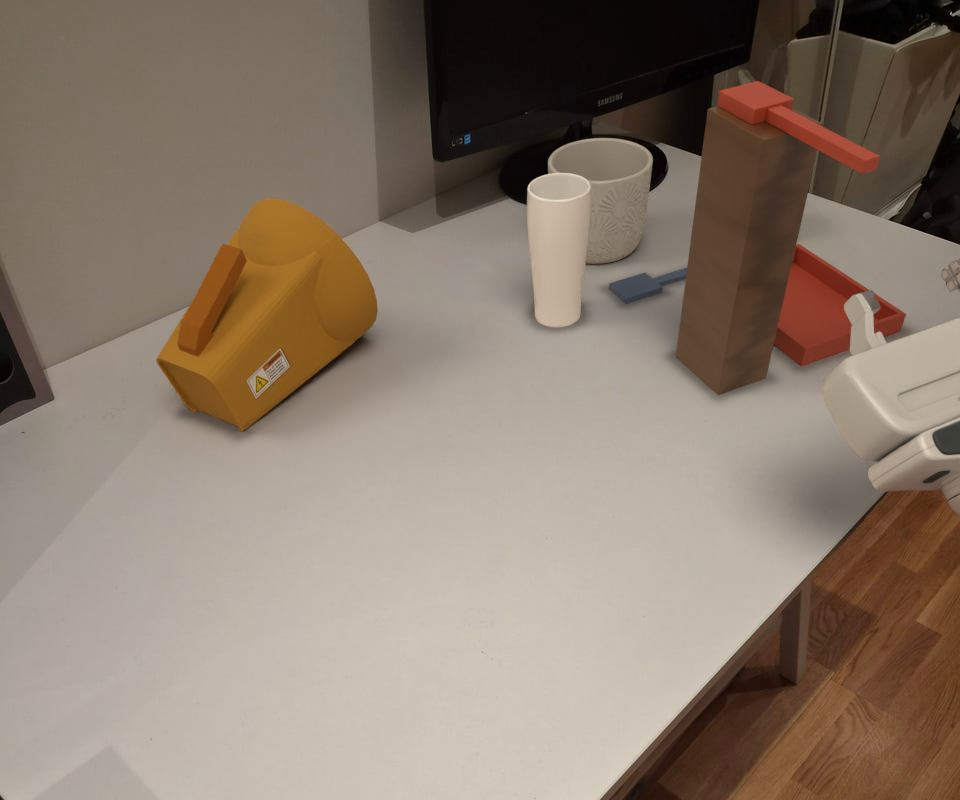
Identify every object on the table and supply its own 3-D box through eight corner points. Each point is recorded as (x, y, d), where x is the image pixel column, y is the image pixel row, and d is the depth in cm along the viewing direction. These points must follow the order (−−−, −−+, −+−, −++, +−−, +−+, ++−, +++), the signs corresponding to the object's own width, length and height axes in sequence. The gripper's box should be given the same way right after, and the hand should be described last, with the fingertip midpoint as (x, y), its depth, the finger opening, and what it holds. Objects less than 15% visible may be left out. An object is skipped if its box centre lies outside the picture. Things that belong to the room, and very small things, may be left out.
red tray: (794, 264, 106) (798, 243, 104) (899, 335, 95) (906, 313, 93) (702, 293, 103) (705, 272, 101) (800, 370, 92) (805, 348, 90)
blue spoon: (608, 292, 104) (609, 283, 103) (727, 255, 108) (728, 246, 107) (625, 308, 102) (626, 298, 101) (746, 269, 106) (748, 260, 105)
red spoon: (755, 95, 76) (758, 80, 75) (890, 165, 66) (895, 149, 65) (717, 105, 76) (719, 90, 75) (847, 178, 65) (852, 161, 65)
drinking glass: (596, 325, 100) (603, 191, 88) (543, 340, 99) (542, 206, 87) (571, 298, 104) (574, 166, 92) (519, 312, 103) (516, 180, 91)
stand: (720, 345, 96) (764, 93, 77) (765, 382, 91) (823, 123, 72) (674, 361, 95) (707, 108, 75) (717, 399, 90) (763, 140, 71)
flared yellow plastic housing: (285, 310, 106) (221, 177, 90) (396, 347, 99) (346, 211, 84) (183, 428, 100) (95, 308, 84) (293, 476, 93) (220, 355, 78)
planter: (638, 276, 106) (646, 184, 98) (539, 270, 109) (538, 179, 100) (650, 228, 114) (658, 139, 105) (557, 223, 116) (557, 135, 108)
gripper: (1129, 376, 64) (1041, 217, 66) (909, 464, 60) (820, 291, 61) (1061, 414, 70) (981, 268, 72) (857, 497, 66) (777, 339, 67)
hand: (905, 279), depth 67 cm, fingers open, 8 cm apart
